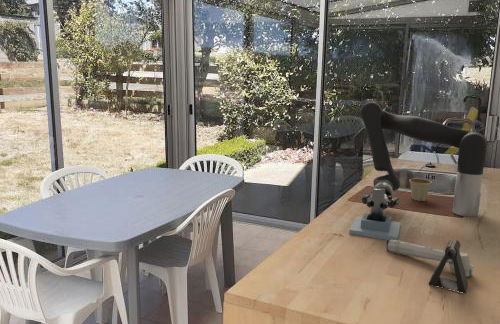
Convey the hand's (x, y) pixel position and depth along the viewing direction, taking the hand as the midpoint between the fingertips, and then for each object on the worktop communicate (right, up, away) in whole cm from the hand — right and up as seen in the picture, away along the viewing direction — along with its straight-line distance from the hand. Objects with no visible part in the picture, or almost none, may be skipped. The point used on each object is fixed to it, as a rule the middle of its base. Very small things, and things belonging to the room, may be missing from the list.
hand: (376, 205), depth 149 cm
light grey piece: (+9, -15, -21) cm, 28 cm away
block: (+1, -9, +4) cm, 10 cm away
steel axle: (+1, -6, +4) cm, 7 cm away
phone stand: (+9, -18, -35) cm, 40 cm away
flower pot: (+32, -2, +44) cm, 54 cm away
